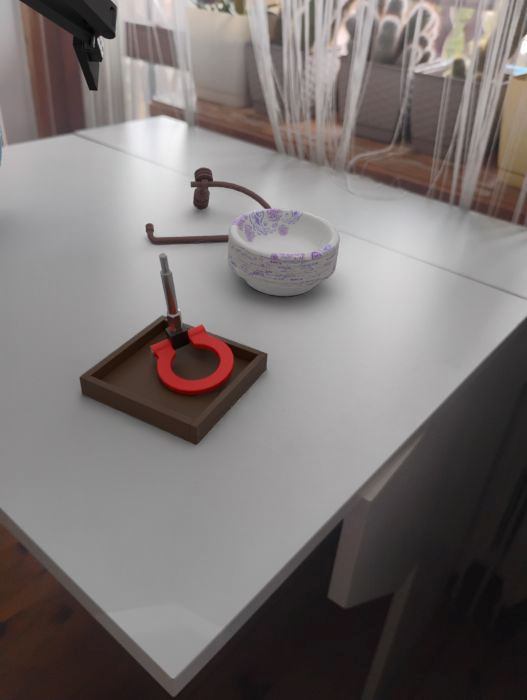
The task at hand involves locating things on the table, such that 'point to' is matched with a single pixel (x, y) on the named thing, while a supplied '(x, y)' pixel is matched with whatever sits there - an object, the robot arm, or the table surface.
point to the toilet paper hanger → (204, 206)
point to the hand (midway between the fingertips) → (19, 73)
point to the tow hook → (182, 337)
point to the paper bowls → (282, 250)
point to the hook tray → (158, 400)
